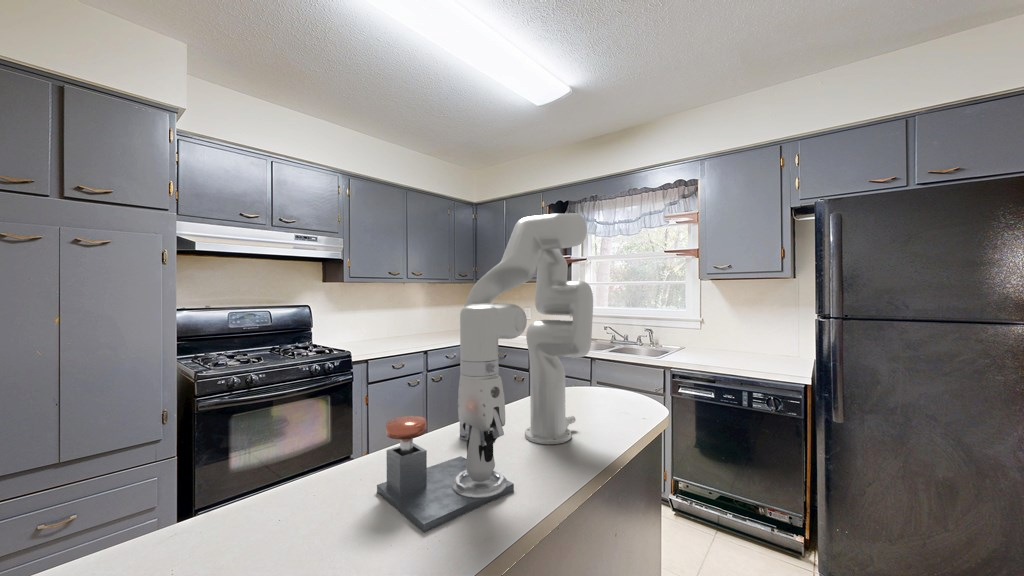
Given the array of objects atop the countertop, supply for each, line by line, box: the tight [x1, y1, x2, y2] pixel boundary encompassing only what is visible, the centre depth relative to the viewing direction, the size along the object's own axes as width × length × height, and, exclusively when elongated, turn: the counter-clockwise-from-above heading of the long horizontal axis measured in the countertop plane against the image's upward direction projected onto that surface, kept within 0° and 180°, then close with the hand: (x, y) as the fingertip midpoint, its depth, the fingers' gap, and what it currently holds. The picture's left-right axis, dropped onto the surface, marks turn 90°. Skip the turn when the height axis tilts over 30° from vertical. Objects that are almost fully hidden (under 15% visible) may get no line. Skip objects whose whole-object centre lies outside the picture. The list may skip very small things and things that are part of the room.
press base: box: [376, 442, 515, 534], centre depth 78 cm, size 20×19×8 cm
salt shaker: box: [465, 422, 496, 482], centre depth 78 cm, size 6×6×13 cm
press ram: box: [385, 415, 427, 456], centre depth 77 cm, size 8×8×8 cm
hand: (480, 460), depth 78 cm, fingers closed on salt shaker, 3 cm apart
